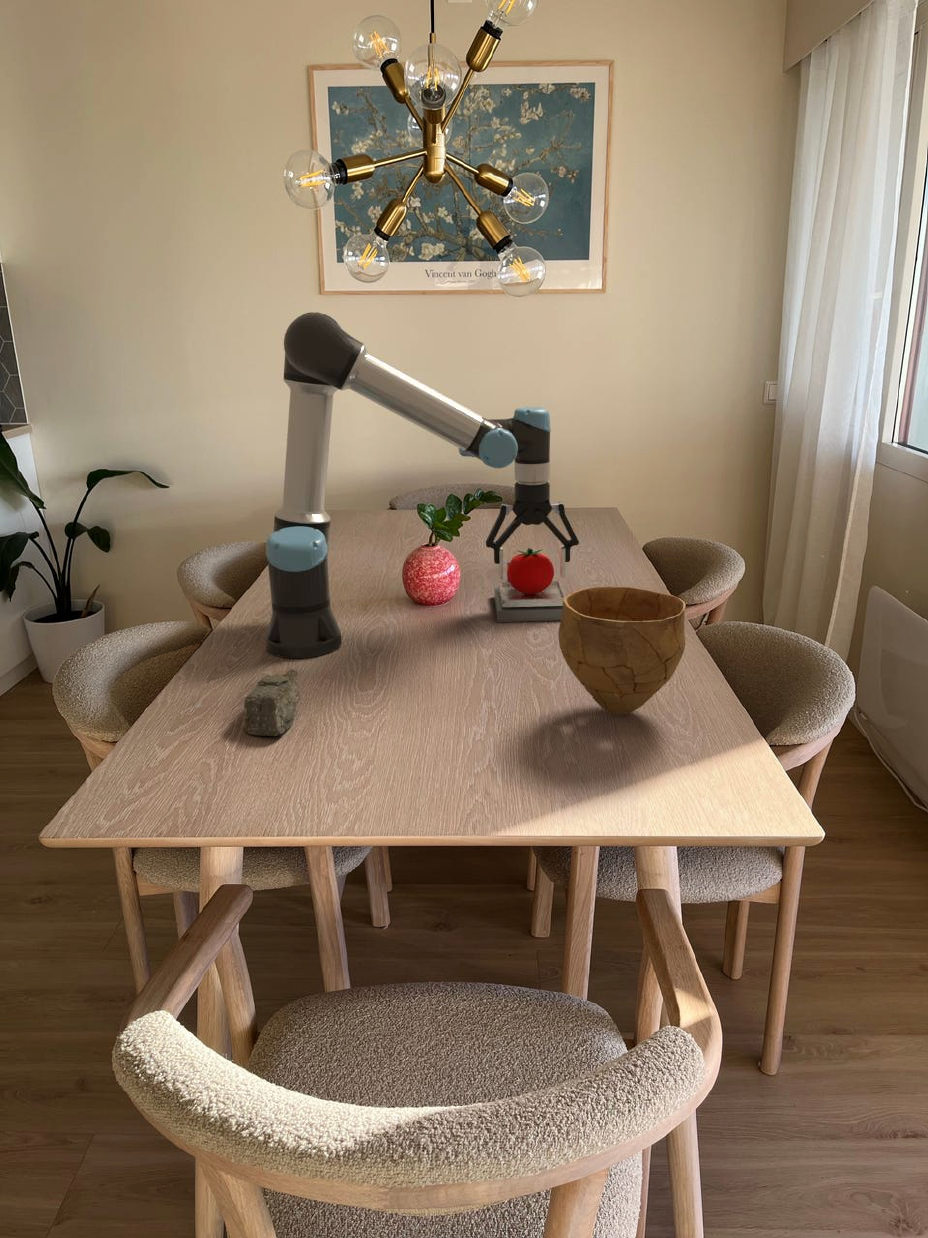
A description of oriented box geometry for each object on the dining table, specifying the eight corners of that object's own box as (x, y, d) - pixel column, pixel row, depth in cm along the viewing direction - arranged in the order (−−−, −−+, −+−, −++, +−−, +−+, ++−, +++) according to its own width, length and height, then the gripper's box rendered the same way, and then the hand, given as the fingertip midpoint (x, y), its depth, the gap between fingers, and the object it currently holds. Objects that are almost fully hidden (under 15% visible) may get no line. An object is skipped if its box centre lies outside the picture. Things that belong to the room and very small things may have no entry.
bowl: (554, 690, 166) (555, 582, 160) (669, 689, 165) (674, 580, 159) (562, 742, 146) (563, 621, 140) (692, 741, 146) (700, 620, 139)
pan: (566, 608, 202) (567, 598, 201) (502, 609, 202) (502, 600, 201) (559, 589, 215) (559, 580, 214) (499, 590, 215) (499, 581, 214)
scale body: (571, 619, 202) (572, 580, 199) (497, 621, 202) (497, 581, 199) (562, 595, 219) (562, 558, 216) (494, 596, 219) (493, 559, 216)
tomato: (546, 601, 202) (546, 556, 199) (500, 597, 205) (500, 553, 202) (559, 588, 211) (559, 545, 208) (515, 585, 214) (514, 542, 211)
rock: (240, 679, 162) (295, 660, 163) (254, 713, 165) (308, 694, 165) (232, 716, 146) (293, 695, 147) (248, 753, 148) (308, 733, 149)
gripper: (587, 476, 204) (585, 570, 210) (473, 479, 204) (475, 573, 210) (592, 483, 196) (590, 580, 203) (474, 486, 196) (476, 582, 203)
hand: (531, 577), depth 207 cm, fingers open, 13 cm apart
